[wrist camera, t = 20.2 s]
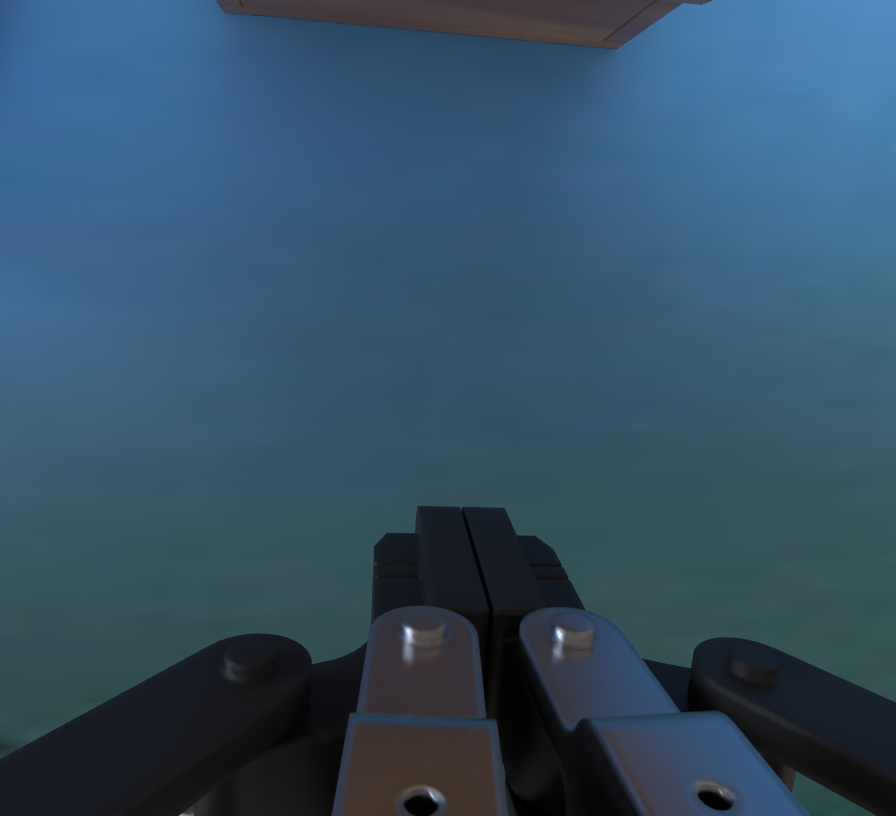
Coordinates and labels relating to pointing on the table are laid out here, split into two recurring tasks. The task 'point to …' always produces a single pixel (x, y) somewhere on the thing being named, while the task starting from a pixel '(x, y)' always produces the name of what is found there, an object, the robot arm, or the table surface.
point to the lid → (690, 1)
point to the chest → (481, 16)
